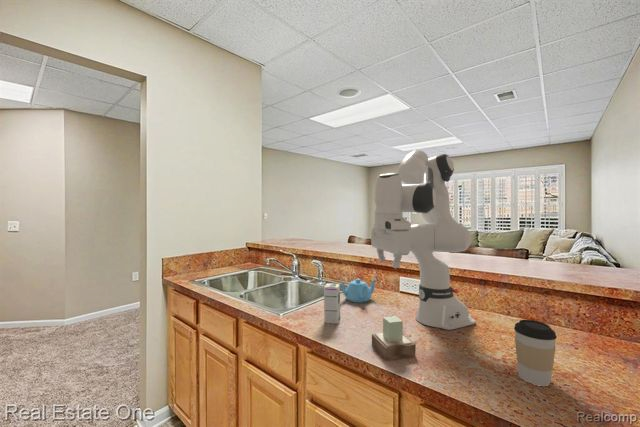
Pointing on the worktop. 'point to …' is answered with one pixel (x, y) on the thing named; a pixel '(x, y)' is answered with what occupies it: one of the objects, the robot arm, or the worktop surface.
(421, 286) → the robot arm
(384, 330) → the sage block
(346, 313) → the worktop surface
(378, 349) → the plinth
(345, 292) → the teapot
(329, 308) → the syrup box
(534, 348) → the coffee cup
